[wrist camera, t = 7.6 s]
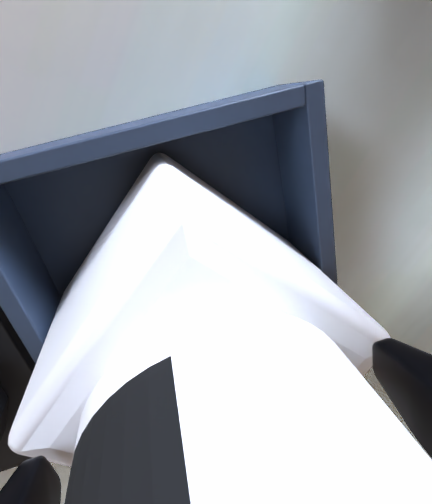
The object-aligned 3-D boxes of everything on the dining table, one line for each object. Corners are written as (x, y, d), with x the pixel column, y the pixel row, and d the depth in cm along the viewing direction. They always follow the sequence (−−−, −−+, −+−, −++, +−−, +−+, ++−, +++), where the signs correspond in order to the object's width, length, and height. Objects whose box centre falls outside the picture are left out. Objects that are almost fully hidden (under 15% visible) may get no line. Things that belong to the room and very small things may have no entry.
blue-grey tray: (279, 84, 13) (324, 78, 10) (309, 332, 18) (344, 378, 15) (-23, 159, 12) (-79, 179, 9) (103, 400, 17) (96, 465, 14)
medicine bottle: (200, 356, 17) (314, 812, 6) (61, 294, 14) (-199, 948, 3) (291, 242, 15) (661, 577, 4) (156, 146, 12) (281, 433, 2)
